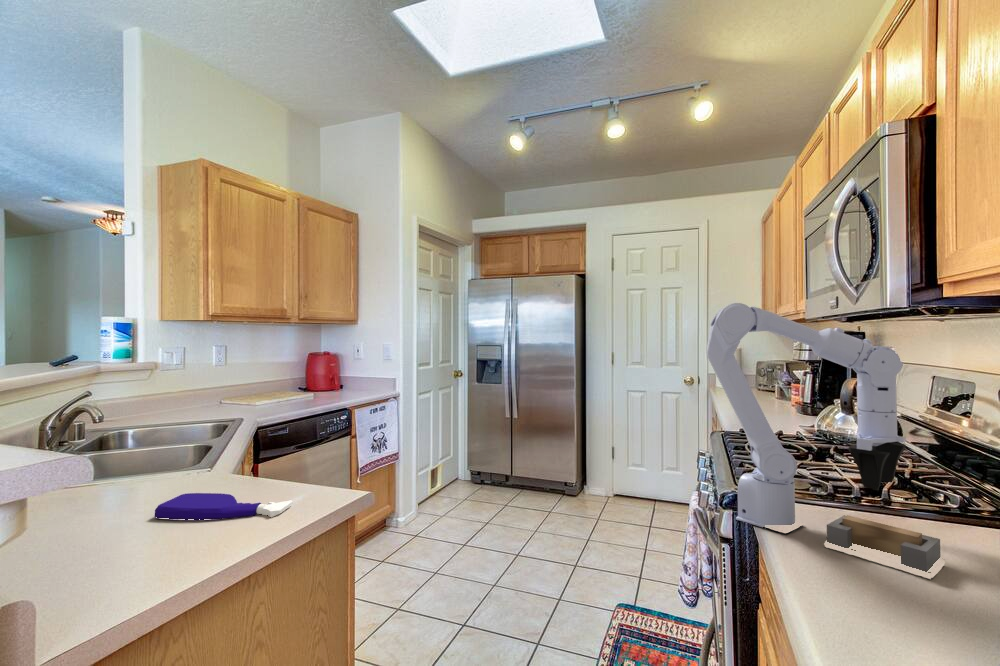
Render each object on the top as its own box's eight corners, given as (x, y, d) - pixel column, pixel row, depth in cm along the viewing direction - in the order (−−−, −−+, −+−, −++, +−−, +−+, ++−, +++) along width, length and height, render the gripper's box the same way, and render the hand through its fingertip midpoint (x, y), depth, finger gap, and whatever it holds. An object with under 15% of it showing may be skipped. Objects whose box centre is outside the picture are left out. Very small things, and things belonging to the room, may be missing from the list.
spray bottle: (149, 508, 93) (271, 511, 92) (186, 491, 103) (296, 493, 103) (148, 523, 92) (271, 526, 92) (186, 504, 103) (296, 506, 103)
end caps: (826, 542, 80) (826, 524, 81) (844, 531, 85) (844, 515, 85) (926, 572, 70) (926, 551, 70) (940, 558, 75) (940, 539, 75)
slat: (842, 541, 81) (842, 518, 81) (847, 538, 82) (847, 515, 82) (918, 563, 73) (917, 537, 73) (922, 558, 74) (922, 533, 74)
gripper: (891, 416, 79) (893, 497, 79) (916, 410, 87) (918, 482, 87) (842, 411, 85) (843, 487, 84) (870, 406, 93) (871, 474, 93)
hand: (878, 484), depth 86 cm, fingers open, 7 cm apart
